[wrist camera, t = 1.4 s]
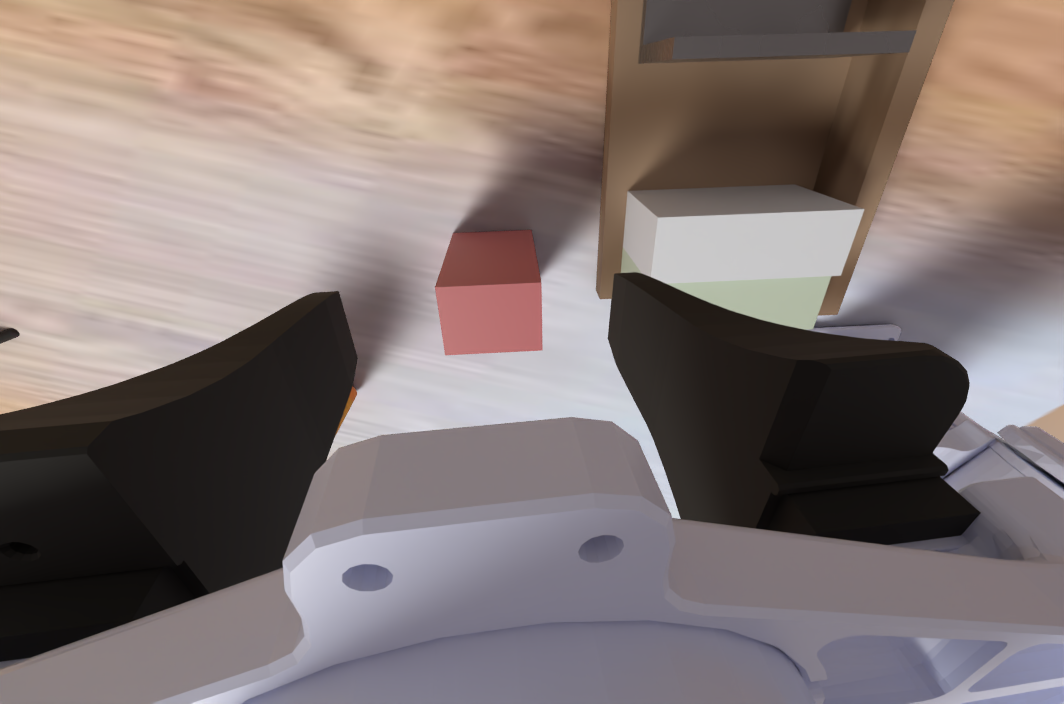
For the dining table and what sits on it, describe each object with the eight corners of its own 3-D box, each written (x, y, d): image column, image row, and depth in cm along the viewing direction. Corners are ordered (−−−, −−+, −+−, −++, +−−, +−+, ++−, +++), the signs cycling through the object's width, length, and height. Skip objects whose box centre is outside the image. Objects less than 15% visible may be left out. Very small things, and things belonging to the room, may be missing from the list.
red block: (532, 284, 24) (542, 350, 18) (459, 287, 24) (445, 355, 18) (531, 229, 23) (541, 282, 17) (453, 232, 23) (435, 287, 17)
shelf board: (789, 281, 25) (837, 314, 21) (596, 290, 25) (611, 325, 21) (907, -118, 17) (1017, -172, 13) (617, -113, 16) (649, -168, 13)
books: (765, 291, 24) (819, 334, 20) (618, 298, 24) (642, 343, 20) (794, 184, 21) (864, 209, 17) (627, 190, 21) (657, 217, 17)
